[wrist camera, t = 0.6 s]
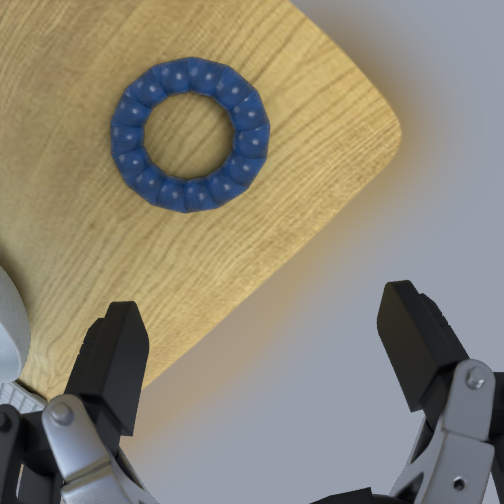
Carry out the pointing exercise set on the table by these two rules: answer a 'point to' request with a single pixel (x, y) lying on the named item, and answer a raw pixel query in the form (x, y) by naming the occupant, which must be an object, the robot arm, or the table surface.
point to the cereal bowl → (12, 330)
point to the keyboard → (20, 398)
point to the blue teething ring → (204, 83)
